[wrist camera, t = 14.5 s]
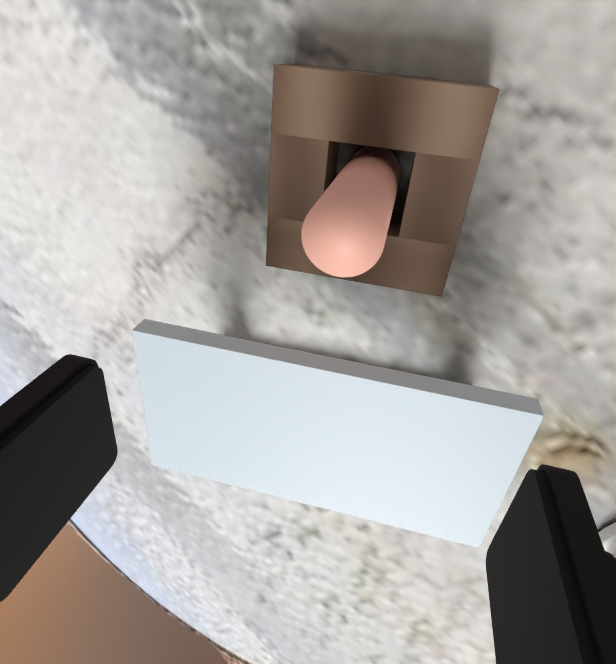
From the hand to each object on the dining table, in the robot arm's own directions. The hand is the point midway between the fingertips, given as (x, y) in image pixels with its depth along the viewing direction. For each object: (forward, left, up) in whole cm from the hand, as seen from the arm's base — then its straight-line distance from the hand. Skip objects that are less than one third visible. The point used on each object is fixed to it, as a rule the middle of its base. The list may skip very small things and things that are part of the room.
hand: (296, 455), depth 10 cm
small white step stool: (+1, +10, -23) cm, 25 cm away
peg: (+1, -1, -23) cm, 23 cm away
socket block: (+1, -1, -23) cm, 23 cm away
